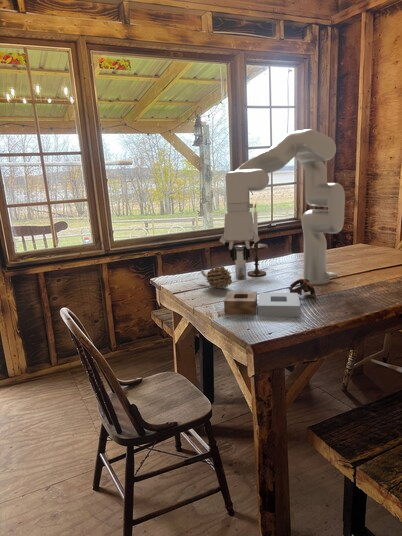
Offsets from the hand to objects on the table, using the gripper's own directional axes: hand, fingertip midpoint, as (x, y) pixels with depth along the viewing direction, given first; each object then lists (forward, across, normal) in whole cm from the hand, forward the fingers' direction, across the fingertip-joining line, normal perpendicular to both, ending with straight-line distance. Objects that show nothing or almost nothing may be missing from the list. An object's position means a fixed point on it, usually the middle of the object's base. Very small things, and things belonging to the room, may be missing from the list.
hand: (240, 259), depth 131 cm
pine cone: (+19, +15, -28) cm, 37 cm away
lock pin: (+7, 0, 0) cm, 7 cm away
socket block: (+19, -13, 0) cm, 23 cm away
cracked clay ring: (+20, -23, -14) cm, 33 cm away
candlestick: (+20, -3, -48) cm, 52 cm away
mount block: (+19, 0, 0) cm, 19 cm away
